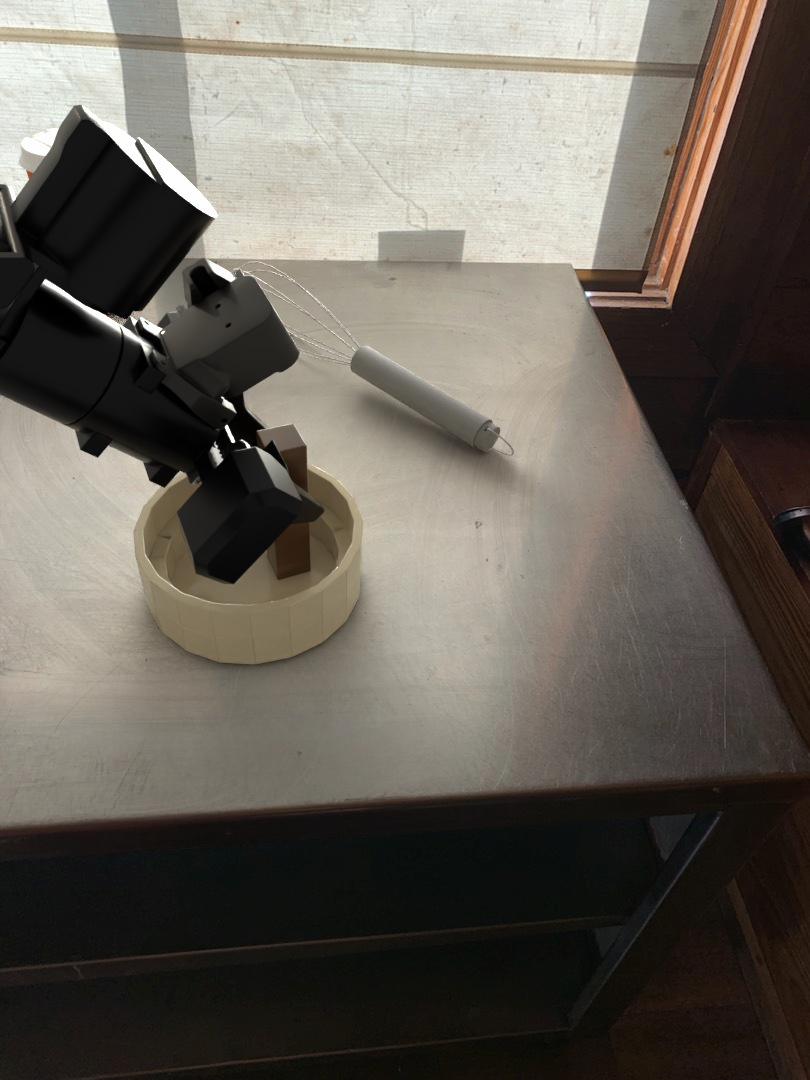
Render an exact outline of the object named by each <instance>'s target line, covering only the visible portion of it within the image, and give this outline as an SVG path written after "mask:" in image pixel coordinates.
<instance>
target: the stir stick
mask: <svg viewBox="0 0 810 1080" xmlns="http://www.w3.org/2000/svg"><path fill="white" fill-rule="evenodd" d="M256 435H257V446H258V448H259V449H261V450H263V449H264V448H265V446H266V445H267V444H268V443H269V442H270V441H271V440H273V441H274V442H275V444H276V446H277V448H278V450H279V452H280V454H281V456H282V458H283V459H284V461H285V463H286V465H287V468H288V473H289V476H290V478H291V480H292V481H293V482H294V483H295V484H296V485H298V486H299V487H300V488H302V489H303V490H304V491H305V492H307V493H308V471H307V463H308V446H307V444H306V442H305V439H304V438H303V437H302V435H301V433H300V432H299V430H298V428H297V426H296V425H295V423H294V422H293V423H287V424H283V425H279V426H274V427H268V429H264V430H259V431H257V432H256ZM267 557H268V560H269V562H270V564H271V566H272V569H273V571H274V573H275V575H276V578H277V579H278V580H280V579H284V578H288V577H291V576H295V575H298V574H302V573H305V572H309V571H311V564H310V533H309V523H301V524H293V525H290V526H289V527H288V528H287V529H286V530H285V531H284V532H283V533H282V534H281V535H280V536H279V538H278V539H277V540H276V541H275V542H274V543H273V544H272V545H271V546H270V547H269V548H268V549H267Z"/></svg>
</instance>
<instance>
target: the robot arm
mask: <svg viewBox="0 0 810 1080" xmlns="http://www.w3.org/2000/svg"><path fill="white" fill-rule="evenodd" d="M58 128H59V129H58V131H57V134H56V137H55V140H54V143H53V145H52V147H51V149H50V150H49V152H48V153H47V155H46V156H45V157H44V159H43V160H42V162H41V163H40V165H39V166H38V167H37V169H36V170H35V172H34V173H33V175H32V176H31V177H30V179H29V178H28V180H27V181H26V183H25V184H24V185H23V187H22V189H21V190H20V191H19V193H18V194H17V196H16V195H15V191H14V189H13V188H12V186H10V185H8V184H6V183H0V396H2V397H4V398H6V399H8V400H10V401H11V402H14V403H17V404H19V405H21V406H23V407H25V408H27V409H29V410H32V411H34V412H36V413H38V414H40V415H43V416H44V417H46V418H49V419H50V420H52V421H55V422H57V423H59V424H61V425H63V426H65V427H68V428H70V429H72V430H74V431H75V436H76V439H77V444H78V447H79V450H80V451H81V452H84V453H85V454H88V455H90V456H92V457H95V458H97V459H99V458H100V457H101V455H102V454H103V453H104V451H106V449H107V448H108V447H110V448H111V449H115V450H117V451H119V452H121V453H123V454H125V455H127V456H130V457H132V458H133V459H136V460H138V461H140V462H142V464H143V466H144V469H145V473H146V475H147V478H148V481H149V482H150V483H153V484H155V485H157V486H160V487H161V486H162V487H164V488H165V487H166V486H167V485H168V484H169V483H170V481H171V480H172V479H173V478H175V477H176V476H178V475H179V472H181V473H186V476H187V478H188V481H189V483H190V484H191V485H194V486H197V485H198V484H199V483H200V482H202V484H201V485H200V486H199V487H198V488H197V490H196V491H195V492H194V493H193V494H192V495H191V496H190V497H189V499H188V500H187V501H186V502H185V503H184V504H183V505H182V506H181V508H180V509H179V510H178V511H177V516H178V521H179V526H180V531H181V533H182V536H183V539H184V542H185V545H186V548H187V550H188V553H189V556H190V559H191V562H192V564H193V567H194V570H195V573H196V574H198V575H201V576H204V577H206V578H209V579H212V580H215V581H217V582H220V583H223V584H235V583H236V582H237V580H238V579H239V578H240V577H241V576H242V575H243V574H244V573H245V572H246V571H247V570H248V569H249V568H250V567H251V566H252V565H253V564H254V563H255V562H256V561H257V560H258V558H259V557H260V556H261V555H262V554H263V553H264V552H265V551H266V550H267V549H268V548H269V547H270V546H271V545H272V544H273V543H274V542H275V541H276V540H277V539H278V538H279V536H280V535H281V534H282V533H283V532H284V531H285V530H286V529H287V528H288V527H289V526H290V525H293V524H301V523H309V522H314V521H316V520H317V519H318V518H319V517H320V516H321V515H322V514H323V513H324V511H325V510H324V508H323V506H322V505H321V504H320V503H319V502H317V501H316V500H315V499H314V498H313V497H312V496H311V495H309V494H308V493H307V492H305V491H304V490H303V489H302V488H300V487H299V486H298V485H296V484H295V483H294V482H293V481H292V480H291V478H290V476H289V473H288V468H287V465H286V463H285V461H284V459H283V458H282V456H281V454H280V452H279V450H278V448H277V446H276V444H275V442H274V441H273V440H271V441H270V442H269V443H268V444H267V445H266V446H265V448H264V449H263V450H261V449H259V448H258V446H257V435H256V432H257V431H259V430H264V429H268V428H269V427H268V425H267V424H266V423H265V422H264V421H263V420H262V419H261V418H260V417H259V416H258V414H256V413H255V412H254V411H253V409H252V408H251V407H250V406H249V405H248V404H247V403H246V401H245V396H244V395H245V394H244V393H245V392H246V391H248V390H250V389H251V388H253V387H255V386H256V385H258V384H260V383H261V382H263V381H265V380H266V379H268V378H270V377H271V376H273V375H274V374H277V373H283V372H286V371H287V370H289V369H290V368H291V367H293V366H294V364H296V362H297V361H298V359H299V357H300V354H299V352H300V350H299V349H300V348H299V347H298V345H297V344H296V341H295V340H294V338H293V337H292V336H291V335H292V334H290V333H289V332H290V331H289V330H288V329H287V327H286V326H285V325H284V324H285V323H284V322H283V321H282V319H281V317H280V315H279V314H278V312H277V310H276V309H275V307H274V305H273V304H272V302H271V300H270V299H269V298H268V296H267V294H266V292H265V291H264V290H262V288H263V287H261V285H260V284H259V281H258V279H256V278H254V277H253V276H251V275H246V274H243V273H244V272H242V271H241V270H242V268H241V269H239V268H237V269H238V270H234V271H233V273H232V274H231V272H230V271H229V270H227V269H225V268H224V267H222V266H221V265H219V264H217V263H215V262H214V261H211V260H210V259H208V258H206V257H201V258H200V259H198V260H196V261H195V262H193V263H191V264H190V265H188V266H187V267H185V268H183V270H182V271H181V273H182V275H181V276H182V284H183V294H184V299H185V302H186V304H187V305H186V306H187V307H185V306H184V304H182V303H181V304H180V305H178V306H176V307H175V309H176V311H170V312H166V313H165V315H163V317H162V318H161V319H160V320H159V321H158V323H157V324H156V325H155V324H154V323H152V322H150V321H148V320H147V319H145V318H143V317H139V318H138V319H135V318H133V317H132V316H131V315H132V314H133V313H134V312H143V311H144V309H146V307H147V306H148V305H149V304H150V302H151V301H152V300H153V298H155V296H156V295H157V294H158V292H159V291H160V290H161V288H163V286H164V285H165V284H166V282H167V281H168V280H169V279H170V277H171V276H172V274H173V273H174V272H175V271H176V269H177V268H178V267H179V266H180V264H182V261H184V260H185V258H186V257H187V255H188V254H189V253H190V252H191V251H192V249H193V248H194V247H195V245H197V243H198V241H199V240H200V239H201V238H202V237H203V235H204V234H205V233H206V232H207V230H208V229H209V228H210V227H211V225H212V224H213V222H214V221H215V220H216V219H217V218H218V214H217V211H216V210H215V209H214V207H213V206H212V204H211V203H210V202H209V201H208V199H207V198H206V197H204V195H203V194H202V193H201V191H199V190H198V189H197V188H196V187H195V186H194V184H193V183H191V182H190V181H189V180H188V179H187V177H186V176H184V175H183V174H182V173H181V172H180V171H179V170H178V169H177V168H176V167H174V166H173V164H171V163H170V162H169V161H168V160H167V159H166V158H165V157H163V156H162V155H161V154H160V153H159V152H158V151H156V150H155V149H154V148H153V147H152V146H150V145H149V144H148V143H147V142H146V141H144V140H143V139H142V138H141V137H137V138H136V139H134V138H133V137H131V135H129V134H127V133H126V132H125V131H124V130H122V129H120V128H119V127H117V126H116V125H114V124H112V123H110V122H107V121H102V120H101V119H100V118H98V117H97V116H96V115H95V114H94V113H92V112H91V111H90V110H89V109H88V108H86V106H84V105H83V104H75V105H73V106H72V108H71V109H70V111H69V112H68V113H67V115H66V116H65V117H64V119H63V121H62V122H61V123H60V125H59V127H58ZM232 275H233V276H232ZM235 276H236V278H235ZM101 313H104V314H106V315H103V314H101ZM110 313H111V314H110ZM107 315H113V316H116V317H118V318H121V319H124V320H126V321H125V322H124V323H123V324H120V323H118V322H116V321H115V320H113V319H111V318H110V317H108V316H107ZM283 323H284V324H283ZM288 331H289V332H288ZM298 348H299V349H298Z"/></svg>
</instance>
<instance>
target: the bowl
mask: <svg viewBox="0 0 810 1080" xmlns="http://www.w3.org/2000/svg"><path fill="white" fill-rule="evenodd" d="M307 471H308V494H309V495H311V496H312V497H313V498H314V499H315V500H316V501H317V502H319V503H320V504H321V505H322V506H323V508H324V510H325V511H324V513H323V514H322V515H321V516H320V517H319V518H318V519H317V520H316V521H314V522H309V533H310V564H311V571H309V572H305V573H302V574H298V575H295V576H291V577H288V578H284V579H280V580H278V579H277V578H276V575H275V573H274V571H273V569H272V566H271V564H270V562H269V560H268V557H267V550H266V551H265V552H264V553H263V554H262V555H261V556H260V557H259V558H258V560H257V561H256V562H255V563H254V564H253V565H252V566H251V567H250V568H249V569H248V570H247V571H246V572H245V573H244V574H243V575H242V576H241V577H240V578H239V579H238V580H237V582H236V583H235V584H223V583H220V582H217V581H215V580H212V579H209V578H206V577H204V576H201V575H198V574H196V573H195V570H194V567H193V564H192V562H191V559H190V556H189V553H188V550H187V548H186V545H185V542H184V539H183V536H182V533H181V531H180V526H179V521H178V516H177V511H178V510H179V509H180V508H181V506H182V505H183V504H184V503H185V502H186V501H187V500H188V499H189V497H190V496H191V495H192V494H193V493H194V492H195V491H196V490H197V488H198V487H199V486H200V485H201V484H202V482H200V483H199V484H198V485H197V486H194V485H191V484H190V483H189V481H188V478H187V476H186V473H183V472H181V473H179V474H177V475H176V476H175V477H174V478H173V479H172V480H171V481H170V483H169V484H168V485H167V486H166V487H165V488H164V487H162V486H160V487H159V488H158V489H157V490H156V491H155V492H154V494H153V495H152V496H151V497H150V498H149V500H147V502H146V503H145V504H144V505H143V506H142V508H141V511H140V513H139V516H138V518H137V521H136V524H135V526H134V529H133V546H134V557H135V560H136V566H137V568H138V572H139V576H140V580H141V585H142V588H143V592H144V596H145V600H146V604H147V607H148V610H149V612H150V614H151V616H152V617H153V619H154V620H155V621H154V622H155V623H156V624H157V626H158V627H159V630H160V631H161V633H163V634H164V635H165V636H166V637H168V638H169V639H171V640H172V641H173V642H174V643H176V644H177V645H178V646H179V647H181V648H182V649H183V650H184V651H187V652H188V653H191V654H194V655H197V656H200V657H202V658H205V659H208V660H211V661H214V662H217V663H221V664H223V663H225V664H240V665H258V664H259V665H260V664H264V663H270V662H276V661H279V660H284V659H291V658H293V657H296V656H298V655H300V654H302V653H304V652H306V651H308V650H311V649H312V648H314V647H316V646H318V645H320V644H323V643H324V642H325V641H326V640H328V638H330V637H331V636H332V635H333V634H334V633H335V632H337V630H338V629H339V628H340V627H342V626H343V625H344V624H345V623H346V622H347V621H348V619H349V617H350V616H351V613H352V611H353V609H354V608H355V606H356V604H357V602H358V600H359V598H360V594H361V593H360V592H361V583H362V582H361V581H362V568H363V567H362V565H363V540H364V539H363V538H364V537H363V536H364V519H363V516H362V513H361V511H360V509H359V505H358V503H357V501H356V498H355V497H354V496H353V495H352V493H351V492H349V491H350V490H348V489H347V488H346V487H345V486H344V484H342V482H341V481H340V480H339V479H338V478H337V477H335V476H333V475H331V474H330V473H328V472H327V471H324V470H322V469H321V468H320V467H317V466H316V465H314V464H311V463H308V462H307Z"/></svg>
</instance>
